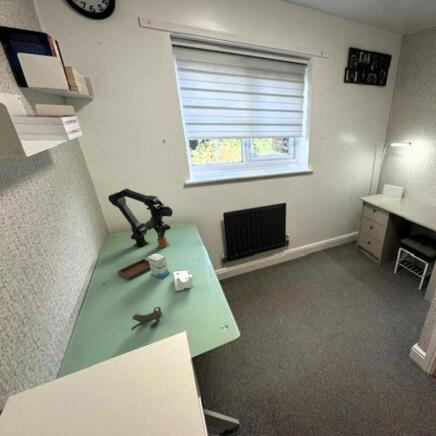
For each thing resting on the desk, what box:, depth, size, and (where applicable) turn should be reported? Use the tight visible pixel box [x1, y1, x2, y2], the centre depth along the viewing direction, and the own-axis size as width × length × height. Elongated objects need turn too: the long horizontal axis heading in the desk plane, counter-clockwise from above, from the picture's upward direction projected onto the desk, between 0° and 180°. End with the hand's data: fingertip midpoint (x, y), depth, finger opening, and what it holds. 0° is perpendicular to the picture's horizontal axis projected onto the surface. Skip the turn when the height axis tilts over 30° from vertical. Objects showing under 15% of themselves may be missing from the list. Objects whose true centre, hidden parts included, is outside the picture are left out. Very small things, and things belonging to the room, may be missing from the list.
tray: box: [117, 258, 151, 281], centre depth 140 cm, size 11×15×2 cm
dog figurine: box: [130, 306, 163, 331], centre depth 103 cm, size 12×6×7 cm, turn 114°
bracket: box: [172, 270, 193, 292], centre depth 129 cm, size 13×7×8 cm, turn 31°
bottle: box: [156, 235, 169, 249], centre depth 164 cm, size 6×6×9 cm
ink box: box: [147, 253, 169, 279], centre depth 135 cm, size 8×5×12 cm, turn 65°
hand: (161, 236), depth 163 cm, fingers closed on cap, 4 cm apart
